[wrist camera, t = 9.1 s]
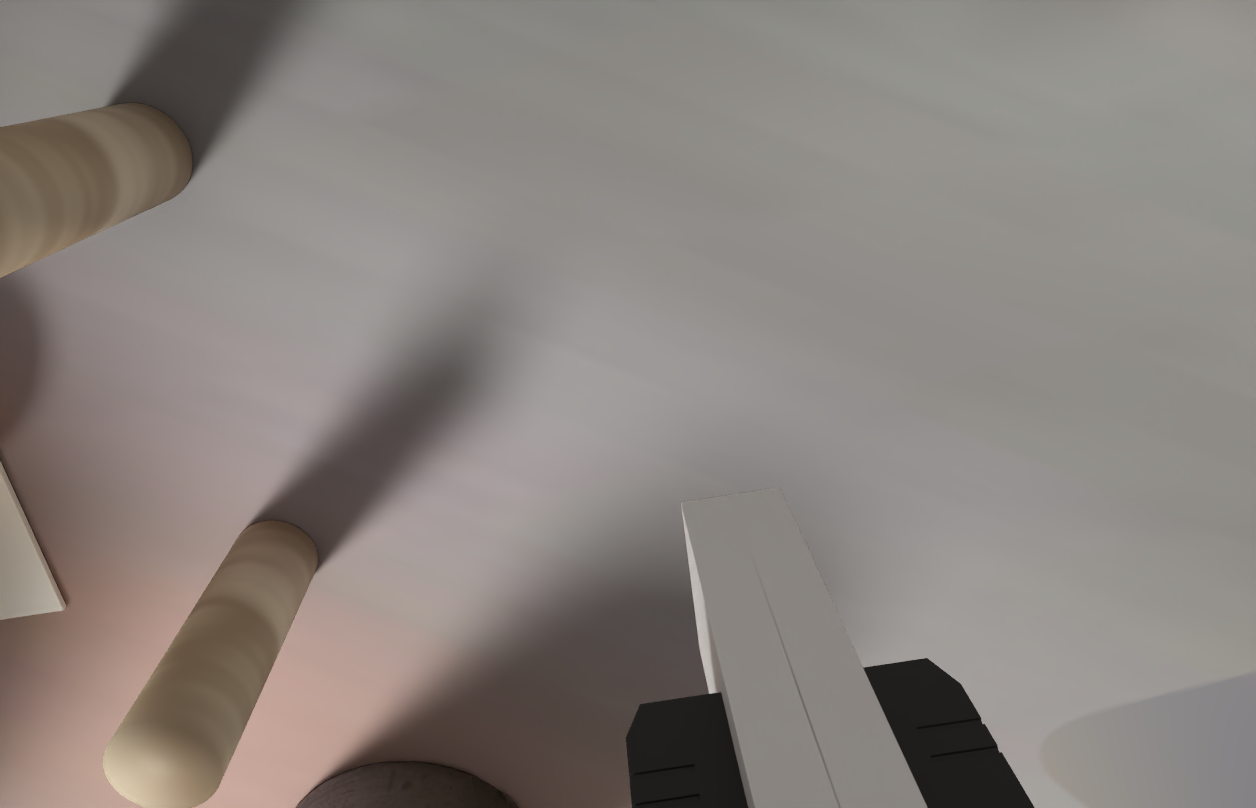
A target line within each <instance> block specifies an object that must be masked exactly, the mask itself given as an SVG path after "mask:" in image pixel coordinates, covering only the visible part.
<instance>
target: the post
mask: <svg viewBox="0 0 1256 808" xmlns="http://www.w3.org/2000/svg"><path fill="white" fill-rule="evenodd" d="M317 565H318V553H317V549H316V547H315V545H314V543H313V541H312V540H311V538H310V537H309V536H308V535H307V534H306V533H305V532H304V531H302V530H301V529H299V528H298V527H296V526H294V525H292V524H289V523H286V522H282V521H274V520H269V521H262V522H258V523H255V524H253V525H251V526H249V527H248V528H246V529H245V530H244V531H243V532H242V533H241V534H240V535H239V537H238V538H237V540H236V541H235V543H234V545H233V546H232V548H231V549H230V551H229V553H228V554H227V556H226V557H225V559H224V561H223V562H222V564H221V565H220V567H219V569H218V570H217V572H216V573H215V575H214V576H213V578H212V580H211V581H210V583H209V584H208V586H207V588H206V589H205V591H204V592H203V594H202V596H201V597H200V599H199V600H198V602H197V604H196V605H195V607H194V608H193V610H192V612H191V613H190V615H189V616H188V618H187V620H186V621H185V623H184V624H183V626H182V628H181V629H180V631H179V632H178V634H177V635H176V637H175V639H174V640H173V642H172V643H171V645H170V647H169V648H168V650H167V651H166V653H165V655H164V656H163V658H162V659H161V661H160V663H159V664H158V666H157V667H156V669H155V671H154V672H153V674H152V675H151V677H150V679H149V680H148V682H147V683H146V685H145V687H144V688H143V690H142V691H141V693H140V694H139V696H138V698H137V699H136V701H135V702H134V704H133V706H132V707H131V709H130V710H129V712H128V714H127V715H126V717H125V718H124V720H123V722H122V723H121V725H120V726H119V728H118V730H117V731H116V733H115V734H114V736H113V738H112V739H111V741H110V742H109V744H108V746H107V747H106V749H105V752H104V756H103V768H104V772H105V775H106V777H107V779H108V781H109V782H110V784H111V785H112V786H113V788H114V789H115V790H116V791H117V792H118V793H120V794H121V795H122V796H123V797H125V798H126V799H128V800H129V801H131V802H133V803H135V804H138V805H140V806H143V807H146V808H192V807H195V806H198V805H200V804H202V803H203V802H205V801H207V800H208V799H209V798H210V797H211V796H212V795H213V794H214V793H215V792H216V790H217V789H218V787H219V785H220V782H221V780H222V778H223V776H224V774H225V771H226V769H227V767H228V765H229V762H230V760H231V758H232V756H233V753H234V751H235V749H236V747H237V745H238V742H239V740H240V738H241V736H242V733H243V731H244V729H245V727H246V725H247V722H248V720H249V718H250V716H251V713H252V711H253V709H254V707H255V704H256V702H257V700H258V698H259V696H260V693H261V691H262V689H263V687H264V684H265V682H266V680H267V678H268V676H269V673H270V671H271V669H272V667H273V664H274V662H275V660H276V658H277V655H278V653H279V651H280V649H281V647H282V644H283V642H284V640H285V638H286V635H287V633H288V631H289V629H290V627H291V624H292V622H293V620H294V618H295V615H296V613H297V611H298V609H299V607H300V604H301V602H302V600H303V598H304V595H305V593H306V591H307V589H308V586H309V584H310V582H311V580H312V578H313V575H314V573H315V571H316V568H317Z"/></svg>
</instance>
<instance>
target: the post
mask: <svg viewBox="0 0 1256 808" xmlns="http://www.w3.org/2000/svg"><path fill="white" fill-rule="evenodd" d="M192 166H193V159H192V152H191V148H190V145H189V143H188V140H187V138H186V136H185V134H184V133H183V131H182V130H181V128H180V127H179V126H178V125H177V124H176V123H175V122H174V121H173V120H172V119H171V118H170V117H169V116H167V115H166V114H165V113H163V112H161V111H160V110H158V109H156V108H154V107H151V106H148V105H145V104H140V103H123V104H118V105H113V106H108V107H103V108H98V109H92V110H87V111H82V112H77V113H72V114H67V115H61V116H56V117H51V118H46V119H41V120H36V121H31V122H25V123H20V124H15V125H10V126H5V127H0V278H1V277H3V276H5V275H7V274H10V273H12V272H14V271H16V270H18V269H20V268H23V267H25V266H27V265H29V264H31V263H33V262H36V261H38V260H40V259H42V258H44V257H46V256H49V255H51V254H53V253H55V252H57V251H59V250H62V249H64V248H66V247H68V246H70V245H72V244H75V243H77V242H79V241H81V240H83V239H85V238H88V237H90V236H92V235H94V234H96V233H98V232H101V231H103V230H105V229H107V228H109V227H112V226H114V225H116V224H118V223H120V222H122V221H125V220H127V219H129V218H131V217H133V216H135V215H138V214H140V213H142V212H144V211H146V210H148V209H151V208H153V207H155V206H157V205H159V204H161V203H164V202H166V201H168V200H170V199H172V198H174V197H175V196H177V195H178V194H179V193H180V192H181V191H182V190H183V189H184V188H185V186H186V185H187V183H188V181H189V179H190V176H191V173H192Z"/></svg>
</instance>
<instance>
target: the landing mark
mask: <svg viewBox="0 0 1256 808" xmlns="http://www.w3.org/2000/svg"><path fill="white" fill-rule="evenodd" d="M65 608H66V604H65V602H64V600H63V598H62V596H61V593H60V591H59V589H58V587H57V585H56V582H55V580H54V578H53V576H52V574H51V571H50V569H49V567H48V565H47V563H46V560H45V558H44V556H43V554H42V552H41V549H40V547H39V545H38V543H37V540H36V538H35V536H34V534H33V532H32V529H31V527H30V525H29V523H28V521H27V518H26V516H25V514H24V512H23V510H22V507H21V505H20V503H19V501H18V499H17V496H16V494H15V492H14V490H13V488H12V485H11V483H10V481H9V479H8V477H7V474H6V472H5V470H4V468H3V466H2V463H1V461H0V620H3V619H10V618H16V617H23V616H30V615H36V614H43V613H50V612H56V611H63V610H64V609H65Z"/></svg>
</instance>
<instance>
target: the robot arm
mask: <svg viewBox="0 0 1256 808" xmlns="http://www.w3.org/2000/svg"><path fill="white" fill-rule="evenodd" d="M681 507H682V514H683V522H684V530H685V538H686V546H687V554H688V562H689V570H690V577H691V585H692V593H693V601H694V609H695V617H696V625H697V633H698V640H699V648H700V653H701V658H702V663H703V667H704V672H705V676H706V681H707V686H708V690H709V694H705V695H699V696H692V697H685V698H679V699H672V700H666V701H659V702H652V703H646V704H640V706H639V709H638V711H637V713H636V716H635V718H634V720H633V723H632V725H631V727H630V730H629V732H628V734H627V737H626V743H627V755H628V766H629V776H630V789H631V801H632V808H1034V806H1033V804H1032V803H1031V801H1030V799H1029V798H1028V796H1027V794H1026V793H1025V791H1024V789H1023V787H1022V786H1021V784H1020V782H1019V781H1018V779H1017V777H1016V776H1015V774H1014V772H1013V771H1012V769H1011V767H1010V766H1009V764H1008V762H1007V761H1006V759H1005V757H1004V756H1003V754H1002V753H999V751H998V747H997V744H996V742H995V741H994V739H993V737H992V736H991V734H990V732H989V730H988V729H987V727H986V725H985V724H982V722H981V717H980V715H979V714H978V712H977V710H976V709H975V707H974V705H973V704H972V702H971V700H970V699H969V697H968V695H967V694H966V692H965V690H964V689H963V687H962V685H961V684H960V683H959V682H957V681H956V680H955V679H954V678H952V677H951V676H950V675H948V674H947V673H946V672H944V671H943V670H942V669H940V668H939V667H938V666H937V665H935V664H934V663H933V662H931V661H930V660H929V659H927V658H924V659H918V660H911V661H905V662H898V663H892V664H885V665H878V666H872V667H865V668H863V667H862V664H861V662H860V660H859V658H858V656H857V654H856V651H855V649H854V647H853V645H852V643H851V641H850V638H849V636H848V634H847V632H846V630H845V627H844V625H843V623H842V621H841V619H840V617H839V614H838V612H837V610H836V608H835V606H834V604H833V601H832V599H831V597H830V595H829V593H828V591H827V588H826V586H825V584H824V582H823V580H822V578H821V575H820V573H819V571H818V569H817V567H816V565H815V562H814V560H813V558H812V556H811V554H810V552H809V549H808V547H807V545H806V543H805V541H804V538H803V536H802V534H801V532H800V530H799V528H798V525H797V523H796V521H795V519H794V517H793V515H792V512H791V510H790V508H789V506H788V504H787V502H786V499H785V497H784V495H783V493H782V491H781V489H780V487H779V488H772V489H765V490H759V491H752V492H745V493H739V494H732V495H725V496H719V497H712V498H705V499H699V500H692V501H685V502H681Z"/></svg>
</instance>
